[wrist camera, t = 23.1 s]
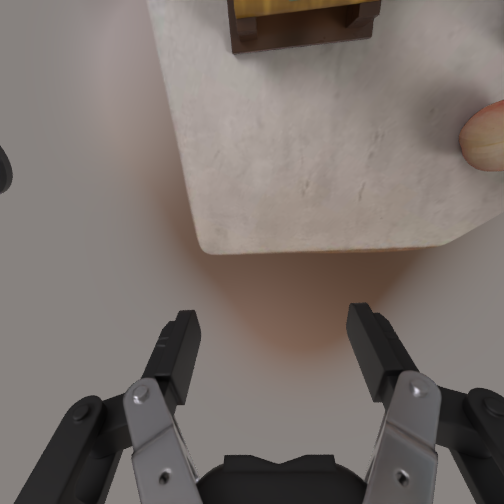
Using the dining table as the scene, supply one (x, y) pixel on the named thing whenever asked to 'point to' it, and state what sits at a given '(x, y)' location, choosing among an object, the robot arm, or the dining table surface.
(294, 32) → the rod rack
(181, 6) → the dining table surface
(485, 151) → the fruit
